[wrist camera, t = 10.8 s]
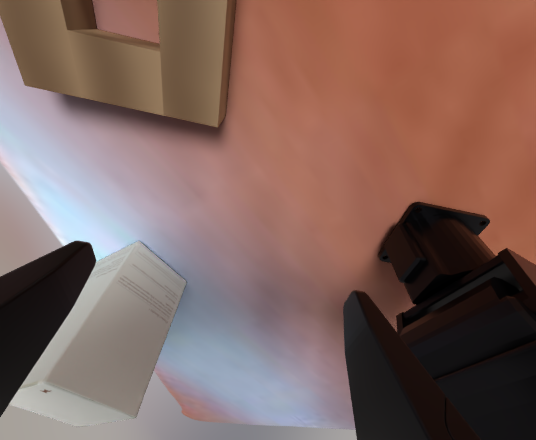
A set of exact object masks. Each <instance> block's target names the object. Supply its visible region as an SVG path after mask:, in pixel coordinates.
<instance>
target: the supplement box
mask: <svg viewBox="0 0 536 440" xmlns="http://www.w3.org/2000/svg"><path fill="white" fill-rule="evenodd" d="M186 283H187V282H186V281H185V280H184V279H183V278H182V277H181V276H179V275H178V274H177V273H176V272H175V271H174V270H172V269H171V268H170V267H169V266H168V265H167V264H165V263H164V262H163V261H162V260H161V259H160V258H158V257H157V256H156V255H155V254H154V253H153V252H152V251H150V250H149V249H148V248H147V247H146V246H144V245H143V244H142V243H141V242H140V241H138V242H135V243H133V244H131V245H129V246H127V247H125V248H123V249H121V250H119V251H117V252H115V253H113V254H111V255H109V256H107V257H105V258H103V259H101V260H99V261H97V262H96V264H95V267H94V269H93V271H92V273H91V274H90V276H89V278H88V280H87V282H86V284H85V286H84V288H83V290H82V292H81V294H80V296H79V297H78V299H77V301H76V303H75V305H74V307H73V308H72V310H71V312H70V313H69V315H68V316H67V318H66V319H65V321H64V322H63V324H62V325H61V327H60V328H59V330H58V331H57V333H56V334H55V336H54V337H53V339H52V340H51V342H50V343H49V345H48V346H47V348H46V349H45V351H44V352H43V354H42V355H41V357H40V358H39V360H38V361H37V363H36V364H35V366H34V367H33V369H32V370H31V372H30V373H29V375H28V376H27V378H26V379H25V381H24V382H23V384H22V385H21V387H20V388H19V390H18V391H17V393H16V394H15V396H14V397H13V399H12V400H11V402H10V403H9V405H12V406H15V407H18V408H21V409H25V410H28V411H31V412H34V413H37V414H40V415H43V416H46V417H49V418H52V419H55V420H58V421H61V422H64V423H67V424H70V425H73V426H76V427H83V426H90V425H97V424H104V423H109V422H116V421H121V420H127V419H134V418H136V417H137V414H138V411H139V408H140V406H141V403H142V400H143V397H144V394H145V392H146V389H147V386H148V384H149V381H150V379H151V376H152V373H153V371H154V368H155V365H156V363H157V360H158V357H159V355H160V352H161V350H162V347H163V344H164V342H165V339H166V336H167V334H168V331H169V328H170V326H171V323H172V320H173V318H174V315H175V313H176V310H177V307H178V305H179V302H180V299H181V296H182V294H183V291H184V288H185V286H186Z"/></svg>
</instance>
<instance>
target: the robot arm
mask: <svg viewBox="0 0 536 440" xmlns="http://www.w3.org/2000/svg"><path fill="white" fill-rule="evenodd" d="M418 207H419V209H417V210H415V209H416V208H418ZM481 221H482V222H481ZM489 223H490V220H489V219H488V218H487V217H486V216H484V215H480V214H475V213H470V212H465V211H460V210H456V209H451V208H446V207H441V206H436V205H432V204H427V203H422V202H415V203H413V204H412V205H411V206H410V207H409V209H408V210H407V212H406V213H405V215H404V216H403V218H402V219H401V221H400V222H399V224H398V225H397V226H396V227H395V229H394V230H393V232H392V233H391V235H390V237H389V238H388V240H387V241H386V243H385V244H384V247H383V248H382V250H381V251H380V253H379V255H378V256H379V258H380V260H381V261H384V262H390V263H392V265H393V268H394V270H395V272H396V275H397V277H398V279H399V281H400V282H402V283H404V285H405V287H406V289H407V291H408V294H409V296H410V298H411V300H412V303H413V304H416V306H414V307H413V308H411V309H409V310H408V311H406V312H404V313H403V312H402V313H400V314H399V315H397V316H396V319H397V332H396V331H395V329H394V328H393V327H392V326H391V324H390V323H389V322H388V320H387V319H386V318H385V317H384V315H383V314H382V313H381V311H380V310H379V309H378V308H377V306H376V305H375V304H374V302H373V301H372V300H371V299H370V297H369V296H368V295H367V294H366V293H365V292H363V291H357V290H354V291H352V292H351V294H350V295H349V297H348V298H347V300H346V302H345V303H344V307H343V315H344V345H345V357H346V364H347V371H348V378H349V386H350V393H351V400H352V407H353V414H354V421H355V428H356V435H357V440H536V265H535V264H533V263H531V262H530V261H528V260H526V259H525V258H523V257H521V256H520V255H518V254H516V253H515V252H513V251H511V250H510V249H508V248H506V249H504V250H502V251H501V252H499V253H498V255H497V256H495V255H494V254H493V252H492V251H491V250H490V249H489V248H488V247H487V246H486V245H485V243H484V242H483V241H482V240H481V239H480V238H479V237H478V235H479V234H480V233H481V232H482V231H483V230H484V229H485V228H486V227H487V226H488V224H489ZM95 264H96V258H95V255H94V252H93V248H92V246H91V244H90V243H88V242H83V241H74V242H71V243H69V244H67V245H65V246H63V247H61V248H59V249H57V250H55V251H53V252H51V253H49V254H46V255H44V256H42V257H40V258H38V259H36V260H34V261H32V262H30V263H28V264H26V265H24V266H21V267H19V268H17V269H15V270H13V271H11V272H9V273H7V274H5V275H3V276H1V277H0V417H1V415H2V414H3V412H4V411H5V409H6V408H7V406H8V405H9V403H10V402H11V400H12V399H13V397H14V396H15V394H16V393H17V391H18V390H19V388H20V387H21V385H22V384H23V382H24V381H25V379H26V378H27V376H28V375H29V373H30V372H31V370H32V369H33V367H34V366H35V364H36V363H37V361H38V360H39V358H40V357H41V355H42V354H43V352H44V351H45V349H46V348H47V346H48V345H49V343H50V342H51V340H52V339H53V337H54V336H55V334H56V333H57V331H58V330H59V328H60V327H61V325H62V324H63V322H64V321H65V319H66V318H67V316H68V315H69V313H70V312H71V310H72V308H73V307H74V305H75V303H76V301H77V299H78V297H79V296H80V294H81V292H82V290H83V288H84V286H85V284H86V282H87V280H88V278H89V276H90V274H91V273H92V271H93V269H94V267H95Z"/></svg>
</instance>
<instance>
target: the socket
mask: <svg viewBox="0 0 536 440" xmlns="http://www.w3.org/2000/svg"><path fill="white" fill-rule="evenodd" d="M157 2H158V21H159V39H160V44H158V43H153V42H149V41H145V40H141V39H137V38H132V37H128V36H124V35H120V34H115V33H111V32H107V31H103V30H99V29H97V27H96V21H95V16H94V10H93V4H92V0H0V16H1V19H2V22H3V25H4V28H5V31H6V33H7V36H8V39H9V42H10V45H11V48H12V50H13V53H14V56H15V59H16V62H17V65H18V67H19V70H20V73H21V76H22V79H23V81H24V84H25V86H30V87H34V88H39V89H44V90H48V91H53V92H57V93H62V94H67V95H71V96H76V97H80V98H85V99H90V100H94V101H99V102H103V103H108V104H113V105H117V106H122V107H126V108H131V109H136V110H140V111H145V112H149V113H154V114H158V115H163V116H168V117H172V118H177V119H181V120H186V121H191V122H195V123H200V124H204V125H209V126H214V127H218V126H219V125H220V123H221V122H222V120H223V119H224V117H225V116H226V108H227V97H228V86H229V75H230V64H231V53H232V42H233V31H234V20H235V9H236V0H157Z"/></svg>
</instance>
